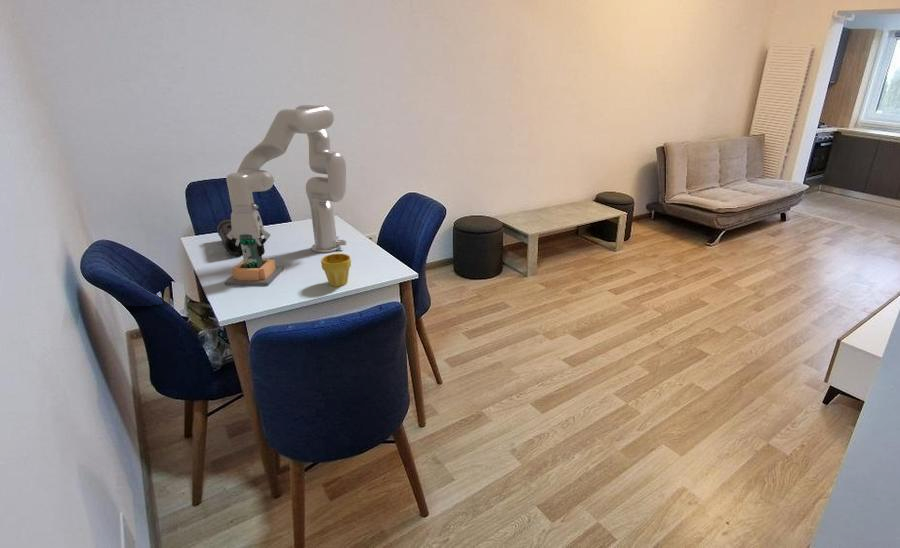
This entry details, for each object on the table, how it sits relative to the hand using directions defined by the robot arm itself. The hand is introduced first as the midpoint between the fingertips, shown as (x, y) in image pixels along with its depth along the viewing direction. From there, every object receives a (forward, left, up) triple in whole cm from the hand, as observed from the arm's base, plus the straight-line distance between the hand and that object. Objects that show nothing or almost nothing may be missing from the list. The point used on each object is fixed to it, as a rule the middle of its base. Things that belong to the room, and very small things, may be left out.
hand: (252, 254), depth 171 cm
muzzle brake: (+24, -33, -9) cm, 42 cm away
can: (0, 0, -7) cm, 7 cm away
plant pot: (-33, +5, -9) cm, 35 cm away
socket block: (0, 0, -9) cm, 9 cm away
